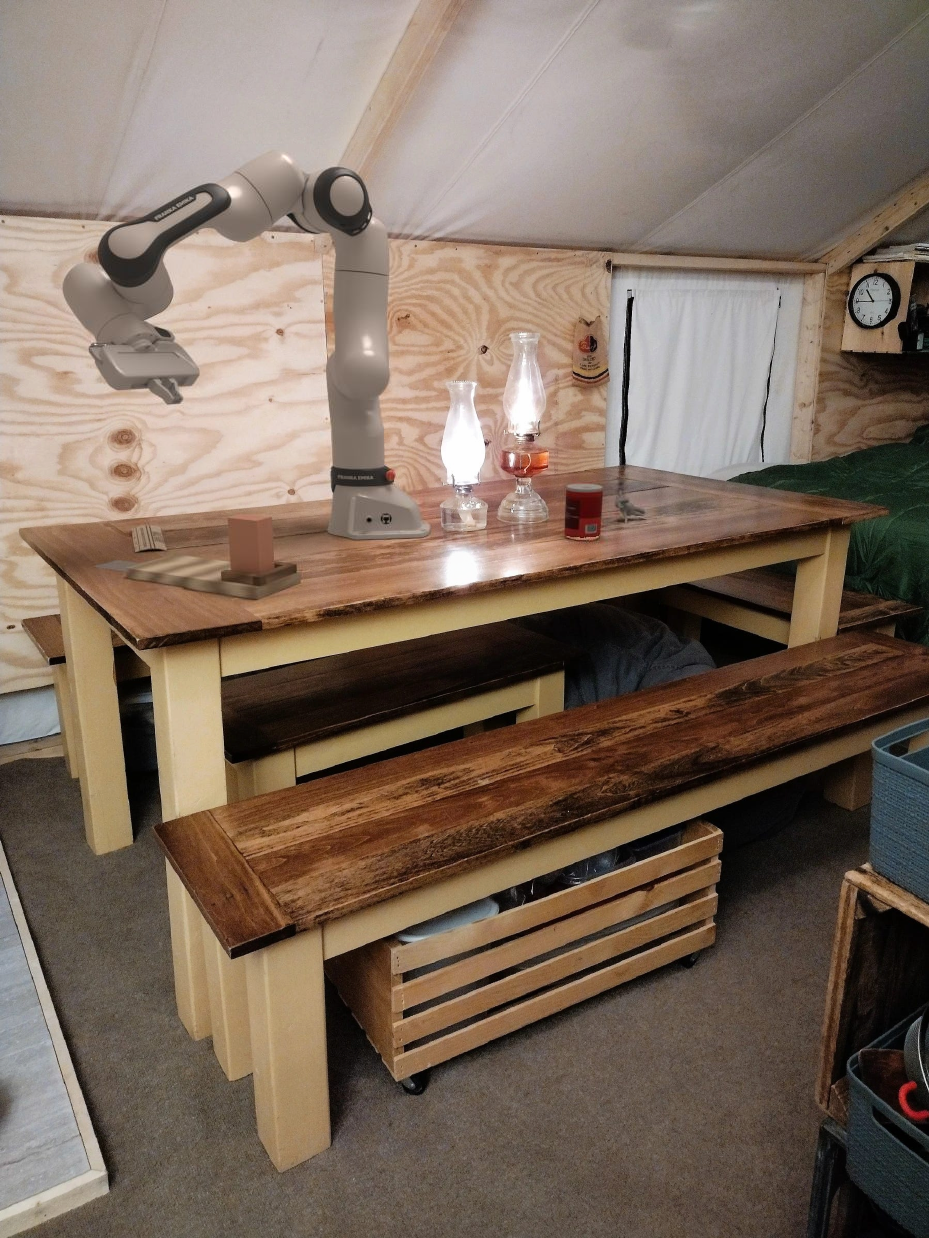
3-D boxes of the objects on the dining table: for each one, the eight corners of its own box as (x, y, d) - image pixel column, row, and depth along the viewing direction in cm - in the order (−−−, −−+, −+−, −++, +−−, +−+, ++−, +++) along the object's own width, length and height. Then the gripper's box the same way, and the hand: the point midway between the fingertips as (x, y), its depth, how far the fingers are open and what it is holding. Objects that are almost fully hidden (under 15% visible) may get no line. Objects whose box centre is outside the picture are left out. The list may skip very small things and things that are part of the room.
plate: (93, 568, 168) (93, 566, 167) (118, 561, 173) (118, 560, 173) (126, 573, 164) (126, 571, 164) (150, 566, 170) (150, 564, 169)
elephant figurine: (656, 524, 214) (626, 512, 210) (640, 538, 219) (610, 528, 215) (649, 491, 220) (619, 480, 216) (633, 506, 224) (603, 495, 220)
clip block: (231, 576, 155) (227, 517, 152) (246, 571, 159) (242, 513, 156) (260, 580, 153) (256, 520, 150) (274, 575, 156) (271, 516, 153)
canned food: (604, 535, 200) (607, 485, 197) (593, 542, 194) (596, 490, 190) (571, 532, 204) (573, 482, 200) (559, 539, 197) (561, 487, 193)
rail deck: (126, 579, 161) (124, 559, 160) (175, 564, 171) (173, 546, 170) (257, 599, 149) (256, 578, 148) (300, 582, 160) (299, 563, 159)
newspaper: (131, 534, 200) (130, 526, 199) (165, 532, 202) (165, 523, 202) (135, 558, 179) (134, 549, 178) (173, 555, 181) (172, 546, 181)
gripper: (91, 329, 154) (141, 392, 153) (177, 331, 172) (222, 387, 170) (75, 357, 157) (124, 418, 156) (160, 355, 175) (205, 410, 174)
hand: (176, 402), depth 163 cm, fingers closed
